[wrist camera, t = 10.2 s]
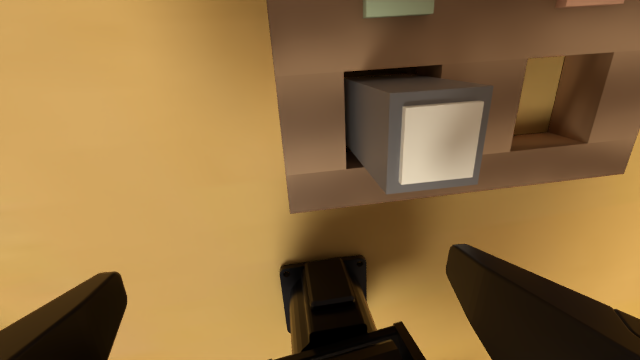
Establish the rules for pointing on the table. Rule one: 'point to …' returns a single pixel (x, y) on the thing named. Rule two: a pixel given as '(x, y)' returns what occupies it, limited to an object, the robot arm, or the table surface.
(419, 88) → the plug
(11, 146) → the table surface
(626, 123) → the socket board
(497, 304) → the robot arm
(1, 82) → the table surface
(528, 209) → the table surface
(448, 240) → the table surface
